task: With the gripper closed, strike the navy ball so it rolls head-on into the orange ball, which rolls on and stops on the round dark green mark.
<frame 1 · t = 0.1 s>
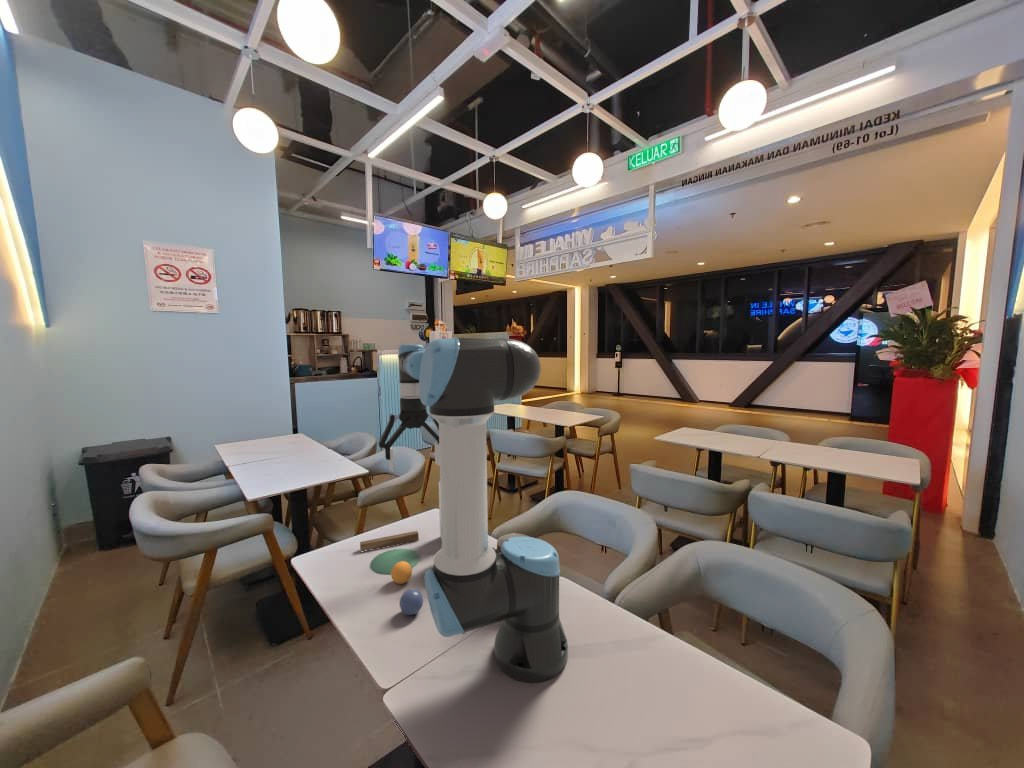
hand: (415, 467, 118), 28 cm above the table, tool pointing down, fingers open, 13 cm apart
milk frother: (472, 560, 118), on the table
walnut stopper: (390, 544, 128), on the table
navy ball: (411, 601, 94), on the table
milk: (450, 539, 132), on the table
orange ball: (401, 572, 107), on the table
pillar candle: (515, 592, 102), on the table
green mark: (395, 561, 118), on the table
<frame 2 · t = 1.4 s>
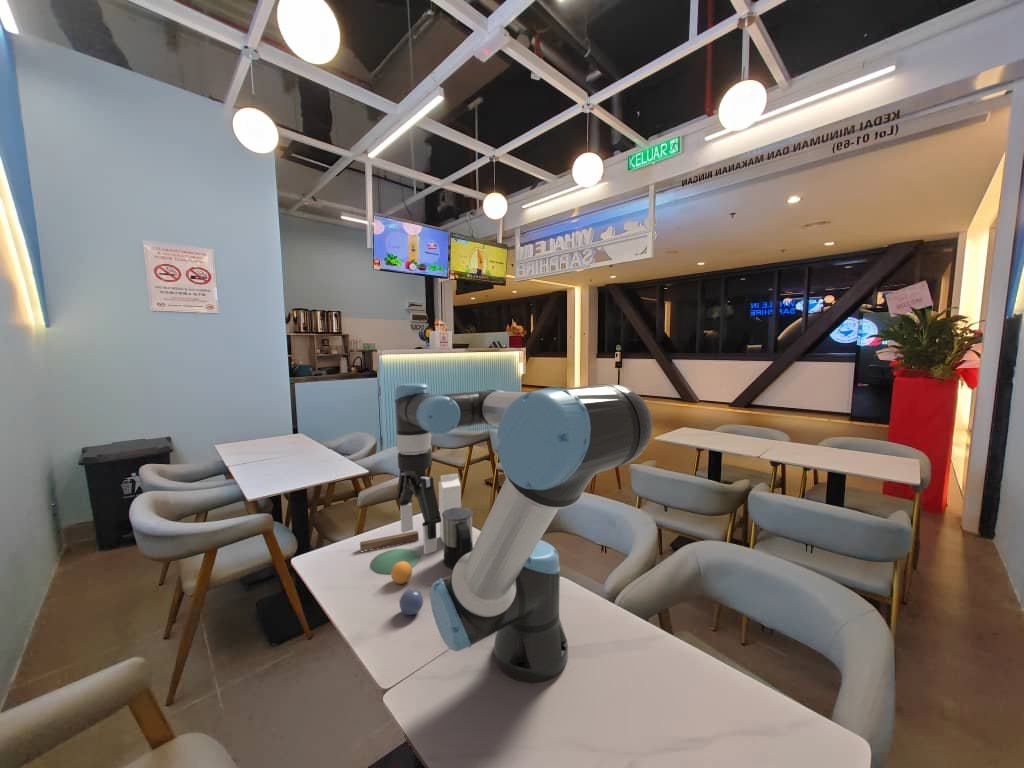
hand: (418, 540, 92), 18 cm above the table, tool pointing down, fingers open, 13 cm apart
nothing on the table moved.
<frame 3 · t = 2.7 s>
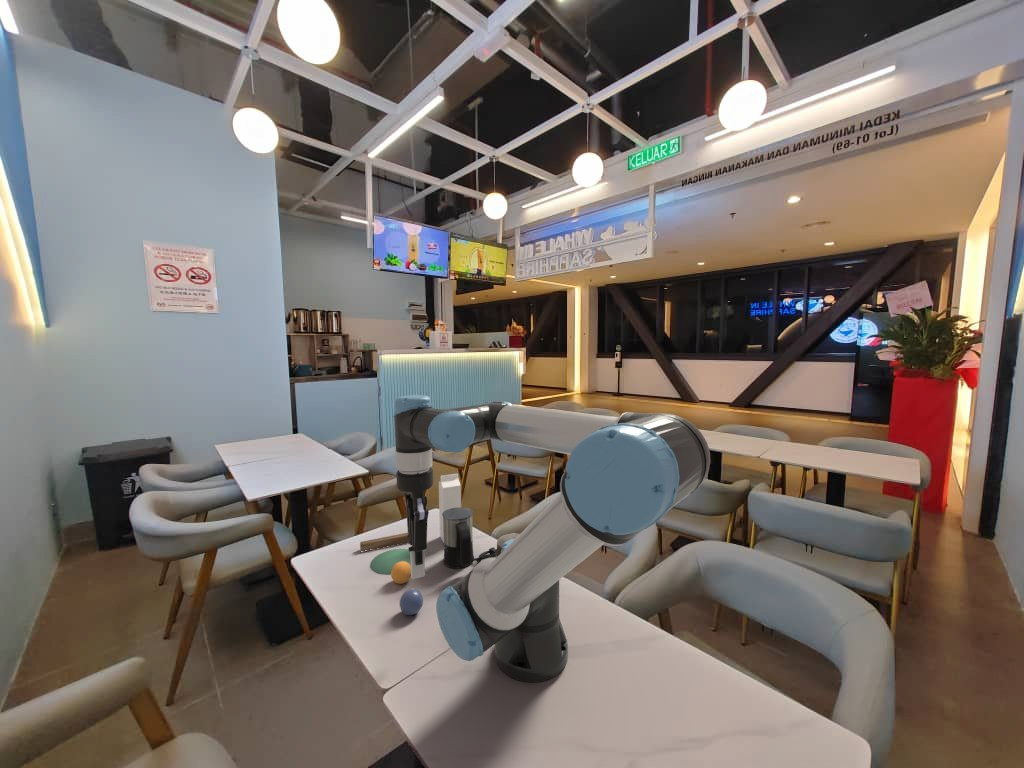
hand: (418, 575, 85), 14 cm above the table, tool pointing down, fingers closed
nothing on the table moved.
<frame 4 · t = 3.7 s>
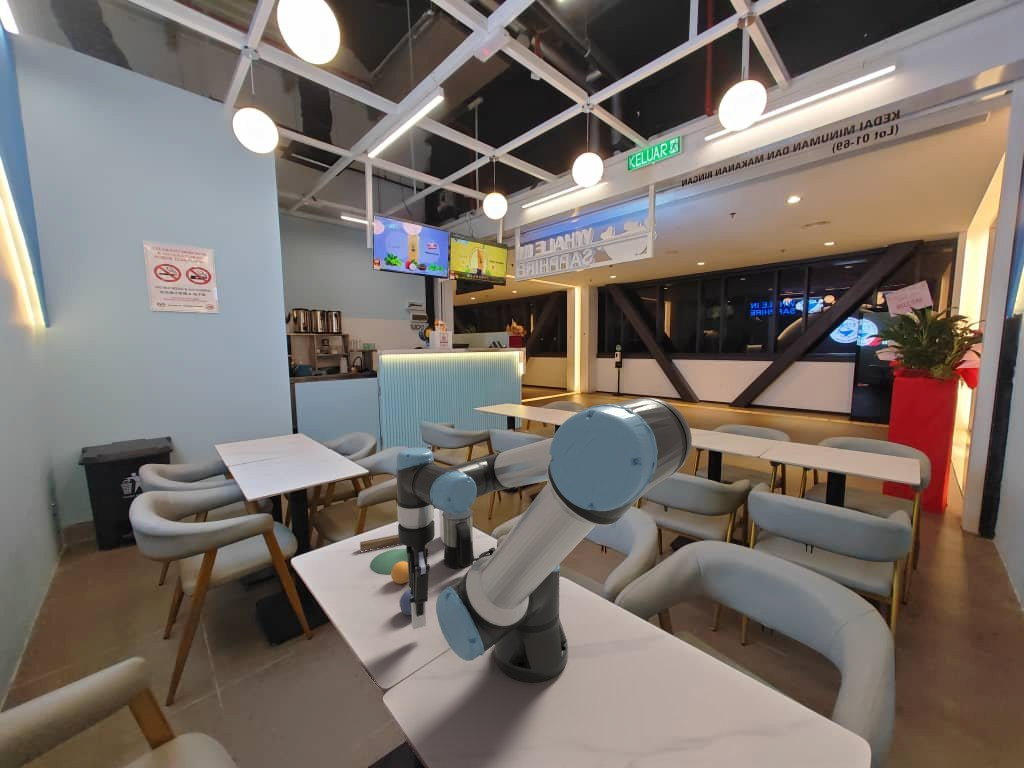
hand: (418, 625, 86), 3 cm above the table, tool pointing down, fingers closed
nothing on the table moved.
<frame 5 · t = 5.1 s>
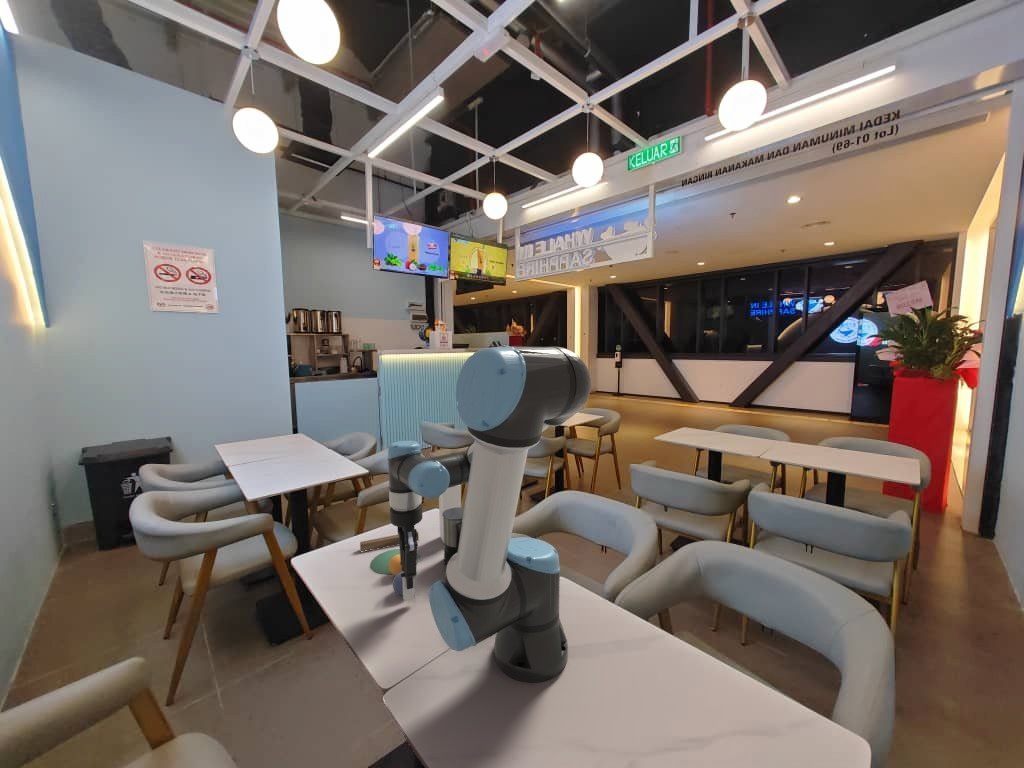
hand: (409, 598, 97), 2 cm above the table, tool pointing down, fingers closed
navy ball: (403, 582, 102), on the table
orange ball: (399, 564, 111), on the table
everything else where it was.
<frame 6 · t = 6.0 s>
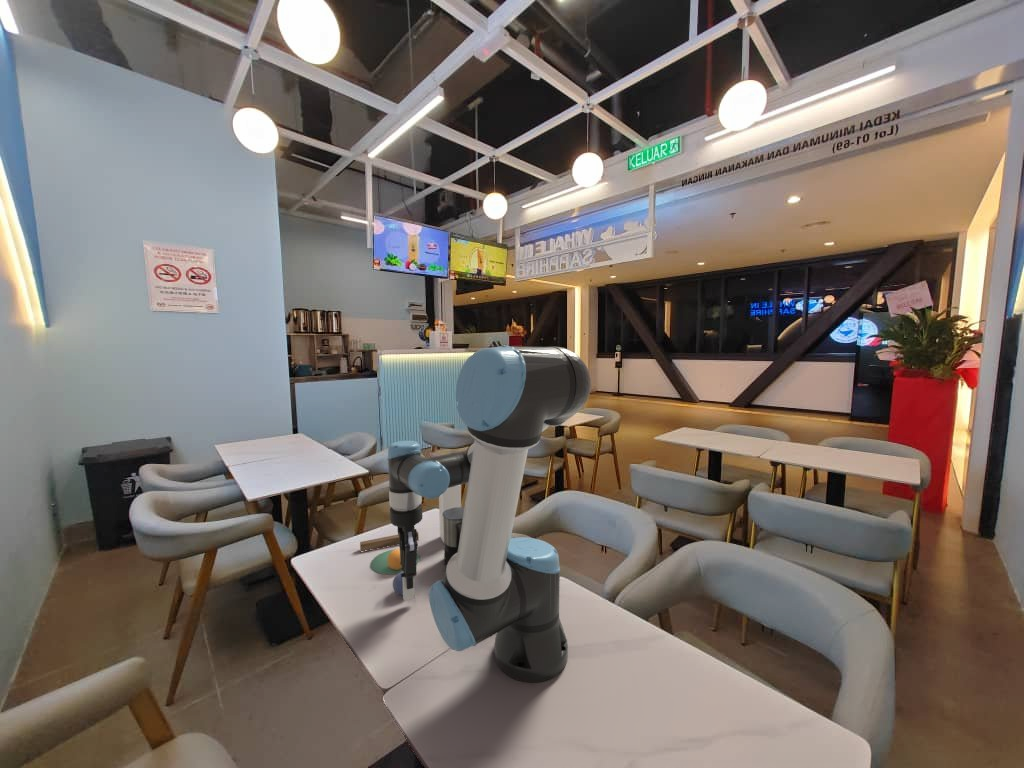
hand: (409, 598, 97), 2 cm above the table, tool pointing down, fingers closed
orange ball: (397, 559, 114), on the table
everything else where it was.
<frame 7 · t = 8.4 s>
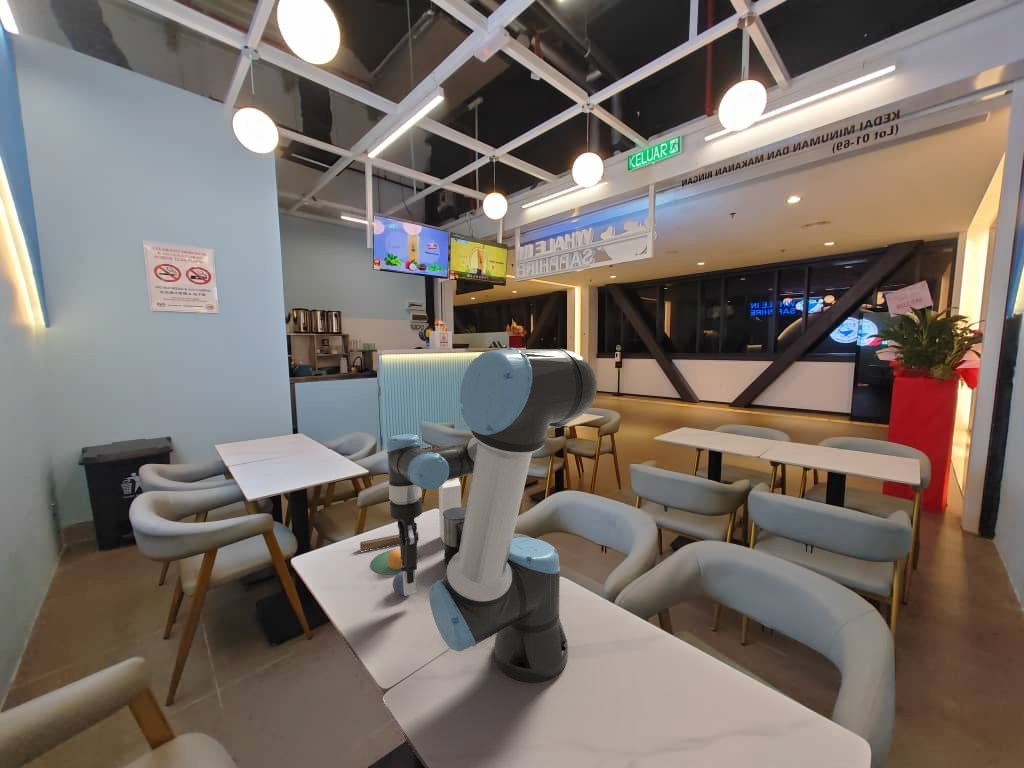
hand: (409, 592, 97), 4 cm above the table, tool pointing down, fingers closed
nothing on the table moved.
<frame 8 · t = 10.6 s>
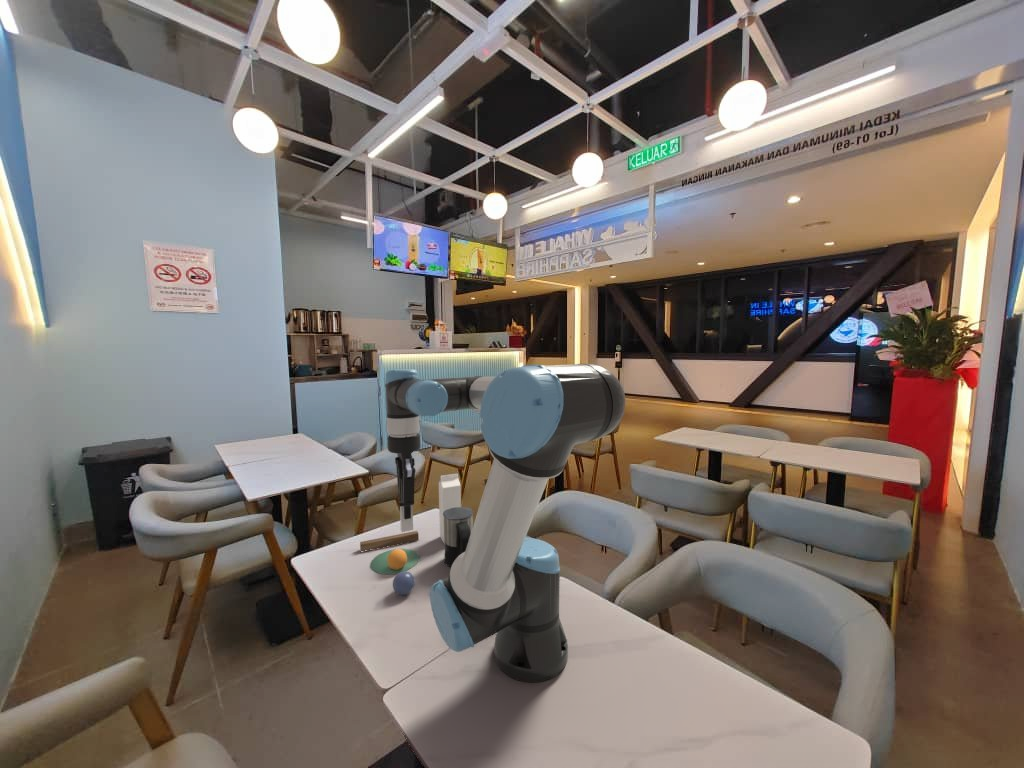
hand: (406, 529, 96), 19 cm above the table, tool pointing down, fingers closed
nothing on the table moved.
at the end: orange ball 4.4 cm from the green mark (horizontally); orange ball never touched the robot; navy ball first touched orange ball at 4.6 s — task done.
